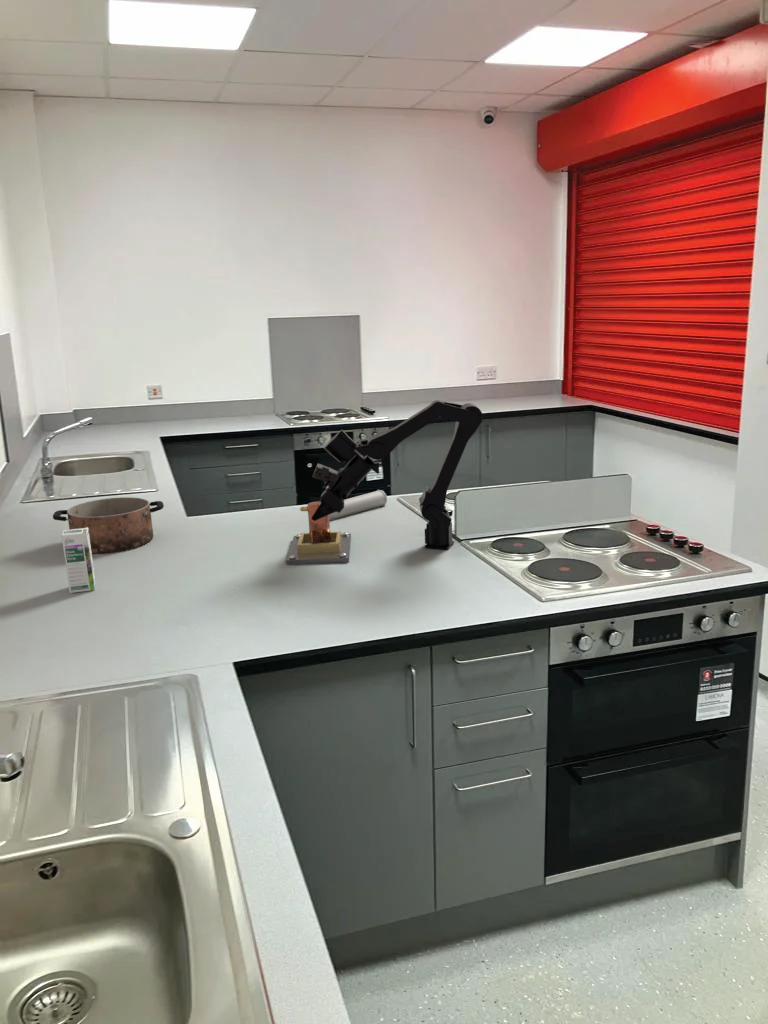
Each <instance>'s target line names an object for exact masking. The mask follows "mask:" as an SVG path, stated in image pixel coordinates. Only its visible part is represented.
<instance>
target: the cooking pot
mask: <svg viewBox="0 0 768 1024" xmlns="http://www.w3.org/2000/svg"><path fill="white" fill-rule="evenodd" d="M164 507H165V505H164V502H163V501H161V500H157V501H156V500H155V501H149V500H148V499H145V498H140V497H132V496H131V497H129V496H124V497H123V496H122V497H109V498H108V497H107V498H102V499H101V498H100V499H94V500H90V501H85V502H81V503H78V504H76V505H73V506H71V507H69V508H68V509H62V510H61V509H60V510H56V511H55V512H54V513H53V515H52V519H53V521H60V522H66V521H67V522H68V530H71V529H81V528H87V527H88V530H89V537H90V545H91V552H92V555H105V554H106V555H107V553H108V554H114V553H115V554H116V552H117V553H123V552H126V551H127V550H128V551H130V550H131V549H132V550H136V549H138V547H139V548H141V547H144V546H146V545H148V544H150V543H151V541H152V540H153V538H154V528H153V520H152V514H151V513H155V512H158V511H161V510H162V509H163V508H164ZM62 515H67V516H62ZM147 543H148V544H147ZM145 544H146V545H145ZM143 545H144V546H143ZM122 551H123V552H122Z"/></svg>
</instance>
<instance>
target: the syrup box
mask: <svg viewBox="0 0 768 1024" xmlns="http://www.w3.org/2000/svg"><path fill="white" fill-rule="evenodd" d="M61 541H62V548H63V549H62V550H63V555H64V561H65V568H66V574H67V575H66V576H67V581H68V590H69V594H75V593H81V592H89V591H90V592H92V591H95V588H96V578H95V569H94V561H93V554H92V552H91V545H90V537H89V530H88V527H87V528H81V529H71V530H69V529H64V530H63V531H62V534H61Z"/></svg>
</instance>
